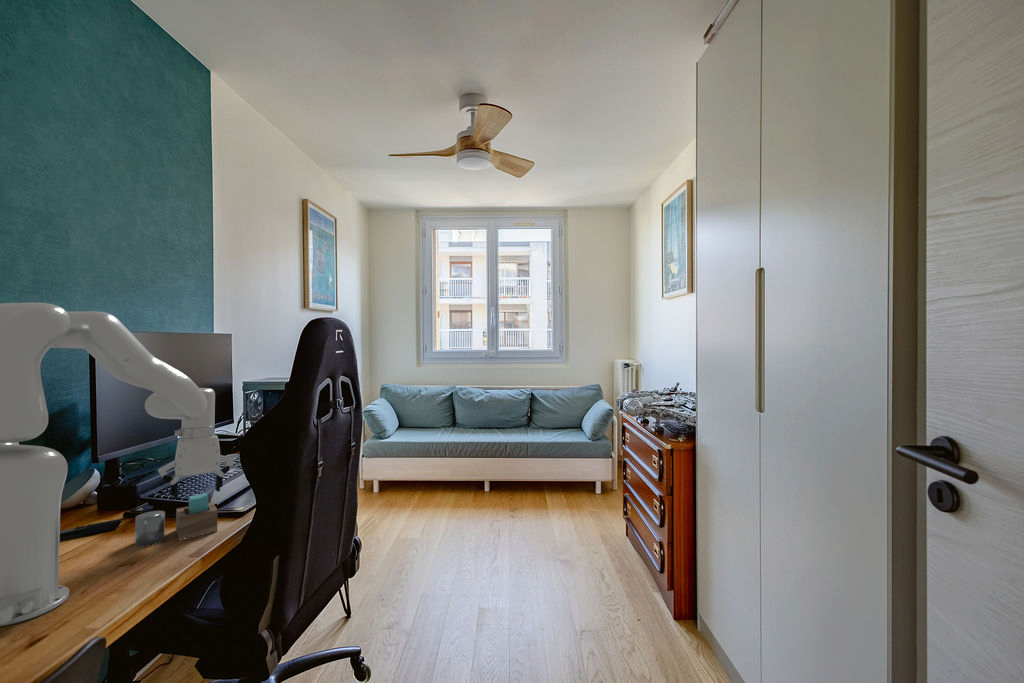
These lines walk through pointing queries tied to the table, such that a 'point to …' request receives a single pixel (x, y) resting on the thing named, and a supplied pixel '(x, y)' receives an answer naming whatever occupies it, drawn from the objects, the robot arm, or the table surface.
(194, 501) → the square peg
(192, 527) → the block
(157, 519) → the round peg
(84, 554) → the table surface
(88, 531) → the electric trimmer
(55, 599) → the robot arm
